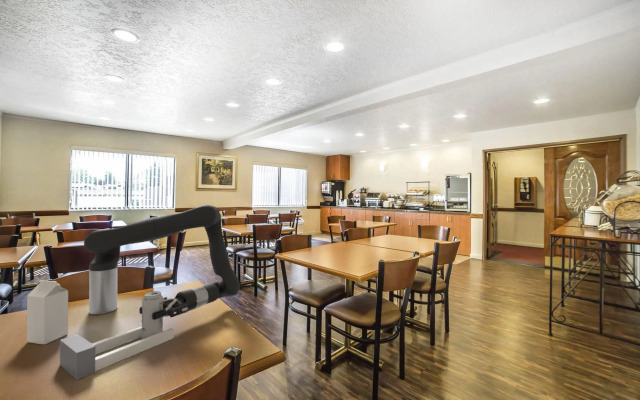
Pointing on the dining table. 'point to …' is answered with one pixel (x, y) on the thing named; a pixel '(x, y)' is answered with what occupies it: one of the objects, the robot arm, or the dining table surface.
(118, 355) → the stop channel
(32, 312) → the milk carton
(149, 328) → the energy drink can
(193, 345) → the dining table surface
